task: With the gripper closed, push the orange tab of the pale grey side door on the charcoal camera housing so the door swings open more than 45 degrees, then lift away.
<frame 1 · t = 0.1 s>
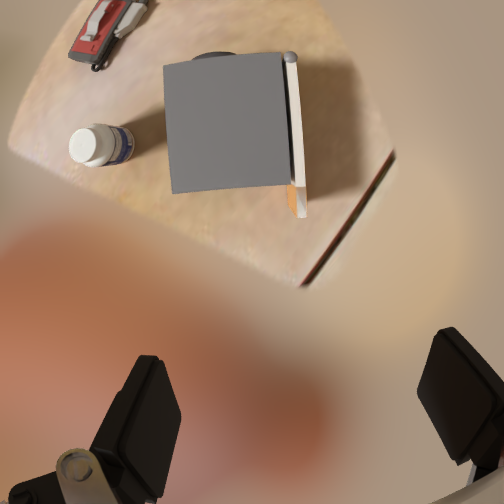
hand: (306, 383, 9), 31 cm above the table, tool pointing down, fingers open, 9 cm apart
camera housing: (232, 128, 35), on the table
side door: (292, 134, 31), point 5 cm above the table, hinge at 0.0°
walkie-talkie: (120, 17, 29), on the table
pill bottle: (119, 145, 36), on the table
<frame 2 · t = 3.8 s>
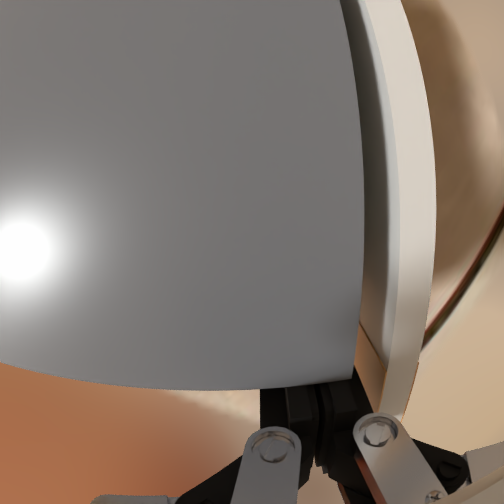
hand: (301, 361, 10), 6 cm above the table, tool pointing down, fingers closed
camera housing: (171, 135, 13), on the table
side door: (354, 152, 9), point 4 cm above the table, hinge at 2.9°, touching gripper
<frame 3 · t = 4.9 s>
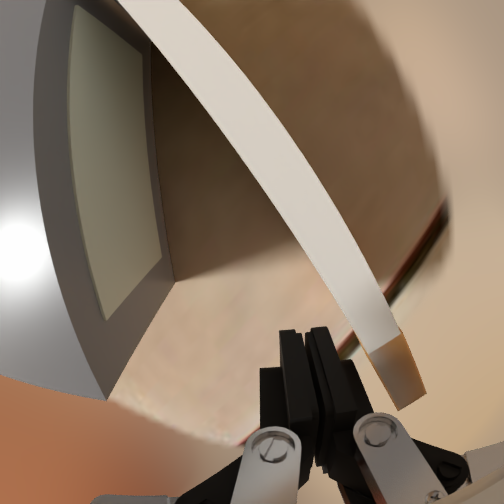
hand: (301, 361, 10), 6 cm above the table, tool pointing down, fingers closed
camera housing: (64, 173, 14), on the table
side door: (258, 147, 9), point 5 cm above the table, hinge at 29.8°, touching gripper
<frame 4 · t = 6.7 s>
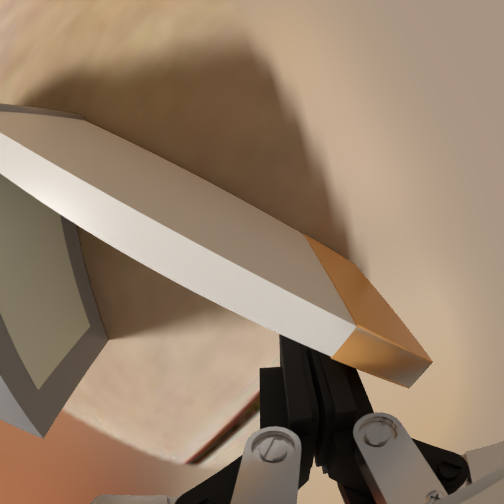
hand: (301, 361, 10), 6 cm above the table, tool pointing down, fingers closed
camera housing: (18, 247, 15), on the table
side door: (174, 199, 10), point 5 cm above the table, hinge at 55.8°, touching gripper
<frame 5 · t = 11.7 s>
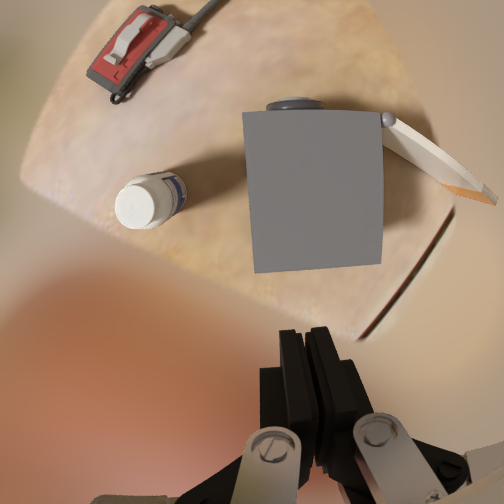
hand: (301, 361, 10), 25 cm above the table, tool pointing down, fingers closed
camera housing: (303, 182, 32), on the table
side door: (429, 160, 27), point 4 cm above the table, hinge at 63.7°
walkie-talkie: (157, 37, 27), on the table
pill bottle: (166, 193, 33), on the table
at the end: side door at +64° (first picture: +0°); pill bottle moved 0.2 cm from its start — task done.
